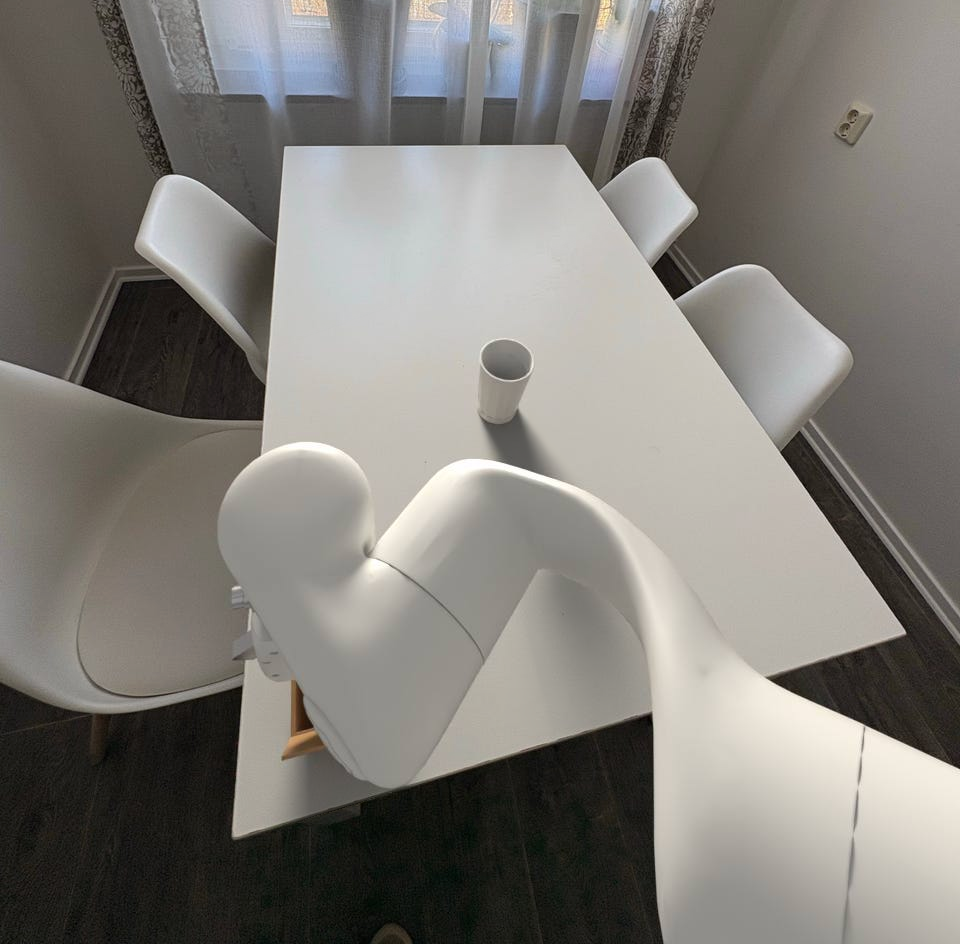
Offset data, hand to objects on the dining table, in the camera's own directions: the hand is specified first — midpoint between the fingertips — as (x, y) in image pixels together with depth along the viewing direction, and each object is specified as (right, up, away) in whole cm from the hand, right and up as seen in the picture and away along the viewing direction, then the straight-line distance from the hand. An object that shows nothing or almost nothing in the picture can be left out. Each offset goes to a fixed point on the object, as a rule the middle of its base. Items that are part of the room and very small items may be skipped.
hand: (343, 649), depth 47 cm
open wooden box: (-2, -10, +10) cm, 14 cm away
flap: (+1, -5, -3) cm, 6 cm away
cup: (+15, +14, +37) cm, 42 cm away
